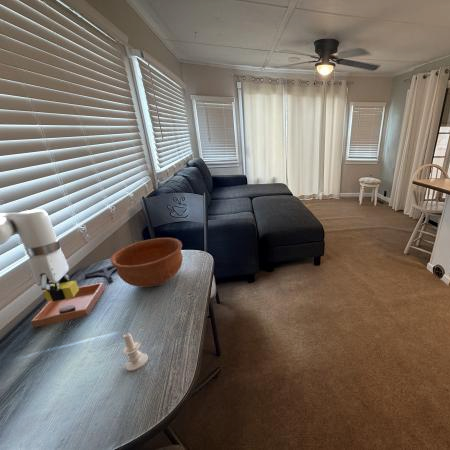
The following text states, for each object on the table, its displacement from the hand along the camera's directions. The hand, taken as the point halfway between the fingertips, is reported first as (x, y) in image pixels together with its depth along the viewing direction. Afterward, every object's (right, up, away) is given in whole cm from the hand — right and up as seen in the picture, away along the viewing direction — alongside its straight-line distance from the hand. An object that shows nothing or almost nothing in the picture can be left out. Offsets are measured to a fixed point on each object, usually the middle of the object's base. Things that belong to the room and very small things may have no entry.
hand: (63, 294), depth 83 cm
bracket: (-2, +1, +22) cm, 23 cm away
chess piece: (+38, -13, -18) cm, 44 cm away
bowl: (+22, 0, +18) cm, 28 cm away
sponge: (0, 0, 0) cm, 0 cm away
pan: (0, -5, +4) cm, 7 cm away
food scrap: (+2, -6, 0) cm, 7 cm away
